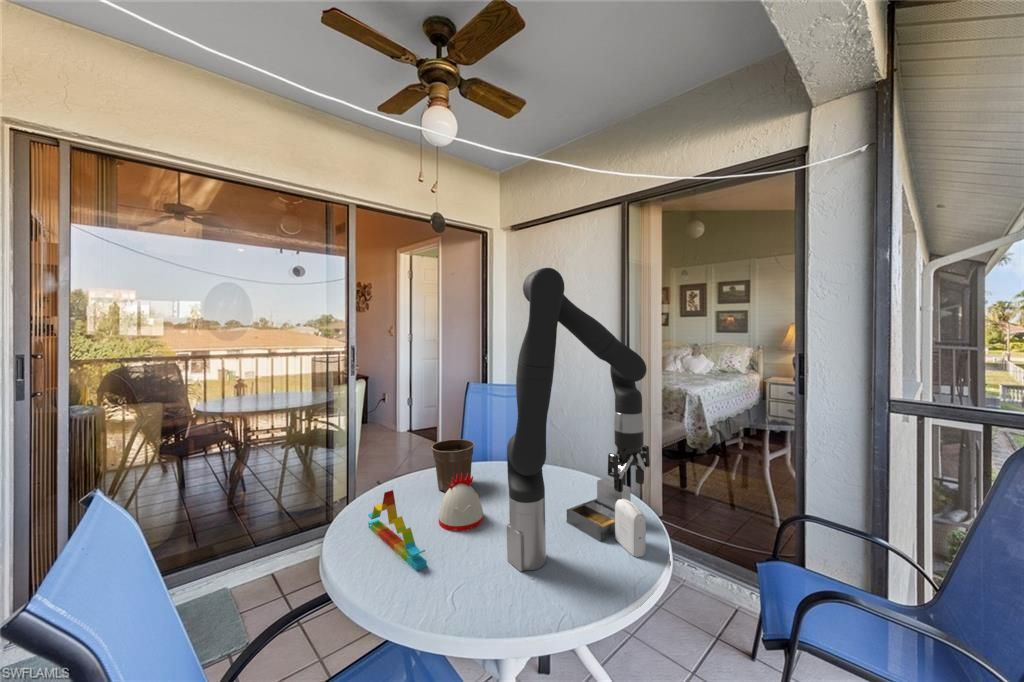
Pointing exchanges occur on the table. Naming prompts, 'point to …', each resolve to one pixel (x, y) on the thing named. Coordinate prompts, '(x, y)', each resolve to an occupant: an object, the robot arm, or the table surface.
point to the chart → (401, 547)
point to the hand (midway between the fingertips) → (629, 487)
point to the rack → (598, 511)
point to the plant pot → (452, 461)
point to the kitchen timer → (460, 506)
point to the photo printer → (630, 527)
